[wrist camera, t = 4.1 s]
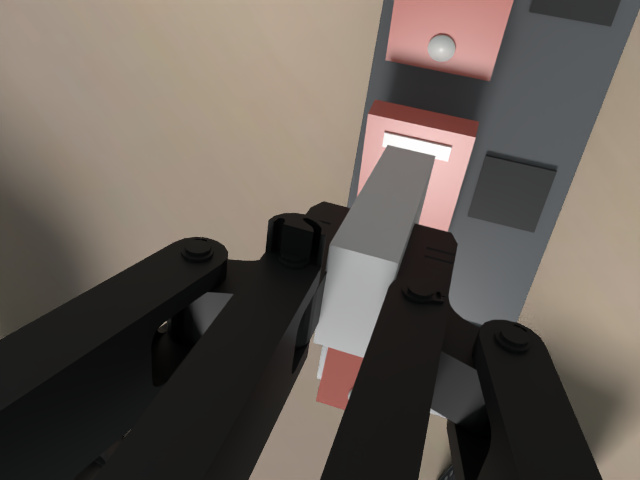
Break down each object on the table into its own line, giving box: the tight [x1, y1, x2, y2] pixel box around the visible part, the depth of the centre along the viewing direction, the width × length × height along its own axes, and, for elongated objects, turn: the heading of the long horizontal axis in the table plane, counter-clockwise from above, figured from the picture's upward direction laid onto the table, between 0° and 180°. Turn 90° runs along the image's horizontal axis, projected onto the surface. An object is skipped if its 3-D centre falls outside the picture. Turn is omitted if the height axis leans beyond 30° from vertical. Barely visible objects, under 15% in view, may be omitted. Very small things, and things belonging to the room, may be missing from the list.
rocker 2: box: [357, 99, 479, 232], centre depth 26 cm, size 4×8×1 cm, turn 172°
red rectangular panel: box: [316, 347, 363, 410], centre depth 31 cm, size 4×8×1 cm, turn 172°
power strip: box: [317, 0, 640, 418], centre depth 30 cm, size 10×36×5 cm, turn 172°
